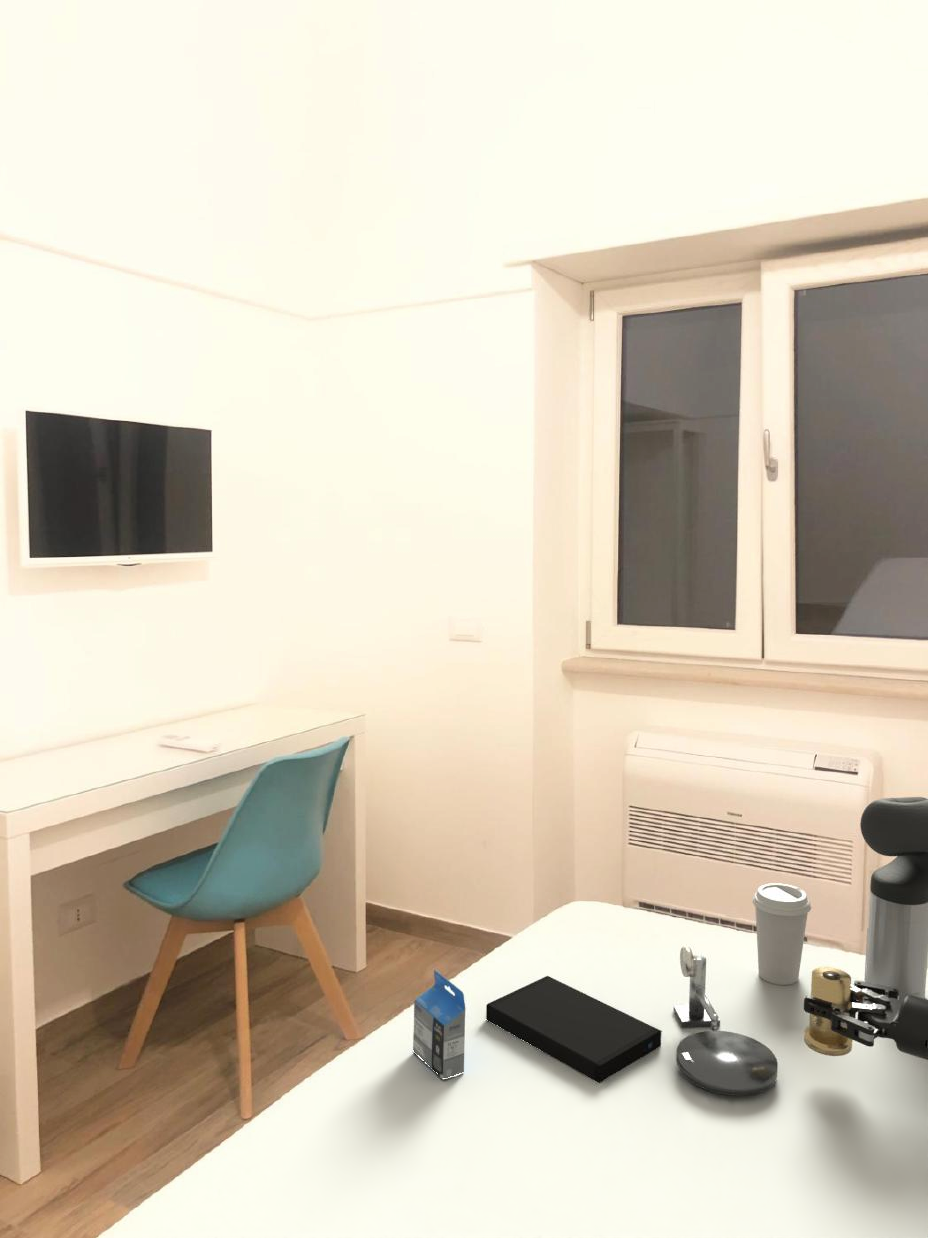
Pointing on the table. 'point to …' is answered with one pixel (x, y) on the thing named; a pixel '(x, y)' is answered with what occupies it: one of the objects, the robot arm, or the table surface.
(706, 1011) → the dial gauge stand
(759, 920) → the coffee cup
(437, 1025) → the label tape box
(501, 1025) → the external hard drive
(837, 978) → the brass cover
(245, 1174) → the table surface
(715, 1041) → the turntable platter
